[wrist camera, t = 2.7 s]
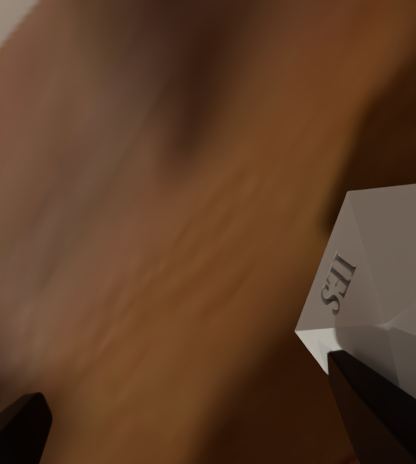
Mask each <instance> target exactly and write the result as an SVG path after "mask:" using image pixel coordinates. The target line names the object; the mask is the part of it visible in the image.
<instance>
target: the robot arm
mask: <svg viewBox="0 0 416 464" xmlns="http://www.w3.org/2000/svg"><path fill="white" fill-rule="evenodd" d="M327 363H328V376H329V382H330V385H331V389H332V391H333V394H334V397H335V400H336V402H337V405H338V408H339V411H340V413H341V416H342V419H343V422H344V424H345V427H346V430H347V433H348V435H349V438H350V441H351V443H352V446H353V448H354V451H355V453H356V455H357V458H358V460H359V462H360V464H416V398H414V397H413V396H411V395H410V394H408V393H407V392H405V391H404V390H402V389H401V388H399V387H398V386H397V385H395V384H394V383H392V382H391V381H389V380H388V379H386V378H385V377H383V376H382V375H380V374H379V373H378V372H376V371H375V370H373V369H372V368H370V367H369V366H367V365H366V364H364V363H363V362H361V361H360V360H358V359H357V358H356V357H354V356H353V355H351V354H350V353H348V352H347V351H345V350H335V351H329V352H328V353H327ZM51 425H52V413H51V410H50V408H49V406H48V404H47V401H46V399H45V397H44V395H43V394H42V393H41V392H34V393H28V394H25V395H23V396H22V397H20V398H19V399H18V400H16V401H15V402H14V403H13V404H11V405H10V406H9V407H7V408H6V409H5V410H3V411H2V412H1V413H0V464H39V463H40V460H41V457H42V453H43V450H44V447H45V444H46V441H47V438H48V434H49V431H50V428H51Z"/></svg>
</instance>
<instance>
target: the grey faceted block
mask: <svg viewBox="0 0 416 464" xmlns="http://www.w3.org/2000/svg"><path fill="white" fill-rule="evenodd" d="M295 332H296V334H297V335H298V336H299V338H300V339H301V340H302V342H303V343H304V344H305V346H306V347H307V348H308V350H309V351H310V352H311V354H312V355H313V356H314V358H315V359H316V360H317V362H318V363H319V364H320V365H321V367H322V368H323V369H324V371H325V372H326V373H327V374H328V363H327V353H328V352H329V351H335V350H345V351H347V352H348V353H350V354H351V355H353V356H354V357H356V358H357V359H358V360H360V361H361V362H363V363H364V364H366V365H367V366H369V367H370V368H372V369H373V370H375V371H376V372H378V373H379V374H380V375H382V376H383V377H385V378H386V379H388V380H389V381H391V382H392V383H394V384H395V385H397V386H398V387H399V388H401V389H402V390H404V391H405V392H407V393H408V394H410V395H411V396H413V397H414V398H416V184H410V185H401V186H391V187H382V188H373V189H364V190H355V191H347V194H346V197H345V199H344V202H343V205H342V207H341V210H340V212H339V215H338V218H337V220H336V223H335V226H334V228H333V231H332V234H331V236H330V239H329V242H328V244H327V247H326V249H325V252H324V255H323V257H322V260H321V263H320V265H319V268H318V271H317V273H316V276H315V279H314V281H313V284H312V286H311V289H310V292H309V294H308V297H307V300H306V302H305V305H304V308H303V310H302V313H301V316H300V318H299V321H298V323H297V326H296V329H295Z"/></svg>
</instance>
